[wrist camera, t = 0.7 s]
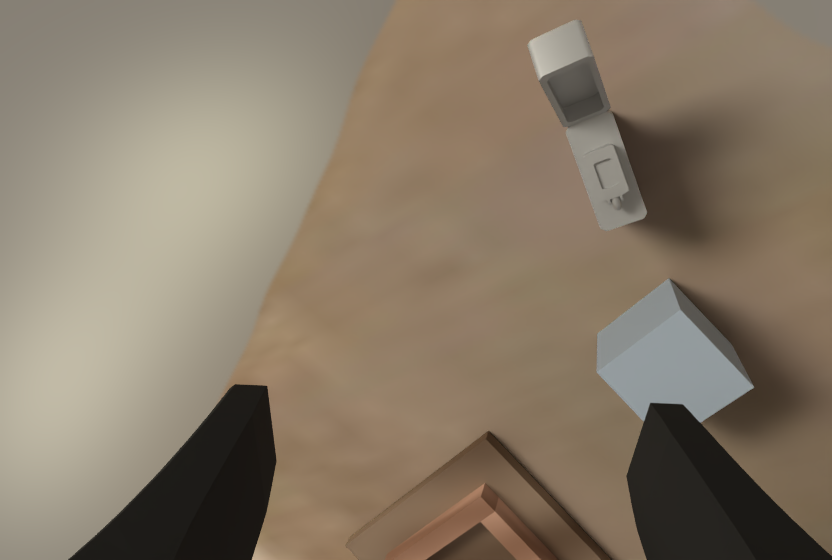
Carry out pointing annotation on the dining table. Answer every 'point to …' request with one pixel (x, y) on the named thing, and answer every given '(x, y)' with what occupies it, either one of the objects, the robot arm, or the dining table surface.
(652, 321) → the block
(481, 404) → the dining table surface
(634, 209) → the lighter
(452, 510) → the base plate
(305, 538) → the dining table surface
